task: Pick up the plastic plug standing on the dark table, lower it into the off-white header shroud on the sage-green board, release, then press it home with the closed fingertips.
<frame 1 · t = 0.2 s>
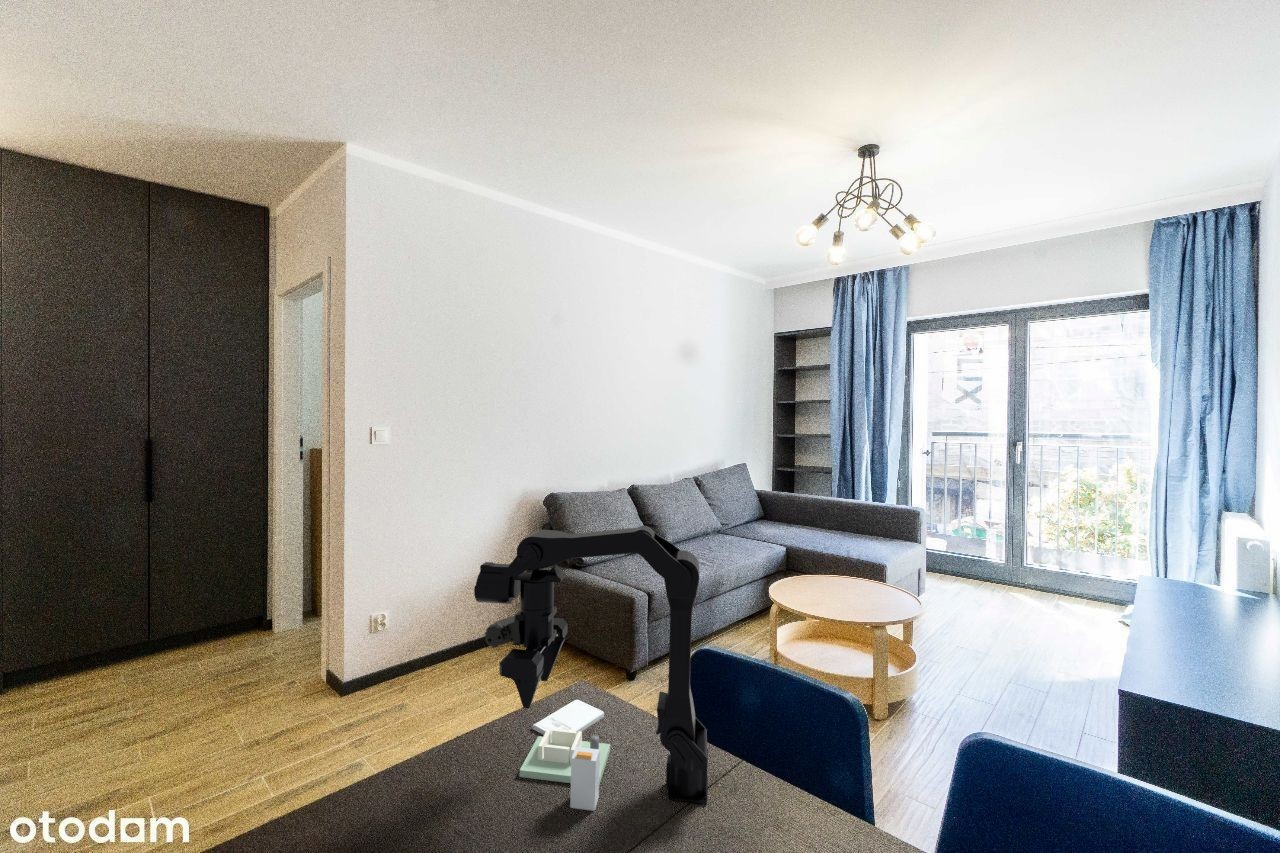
hand: (535, 693, 94), 14 cm above the table, fingers open, 9 cm apart
board: (566, 763, 97), on the table
plug: (584, 802, 87), on the table
external hard drive: (569, 726, 110), on the table
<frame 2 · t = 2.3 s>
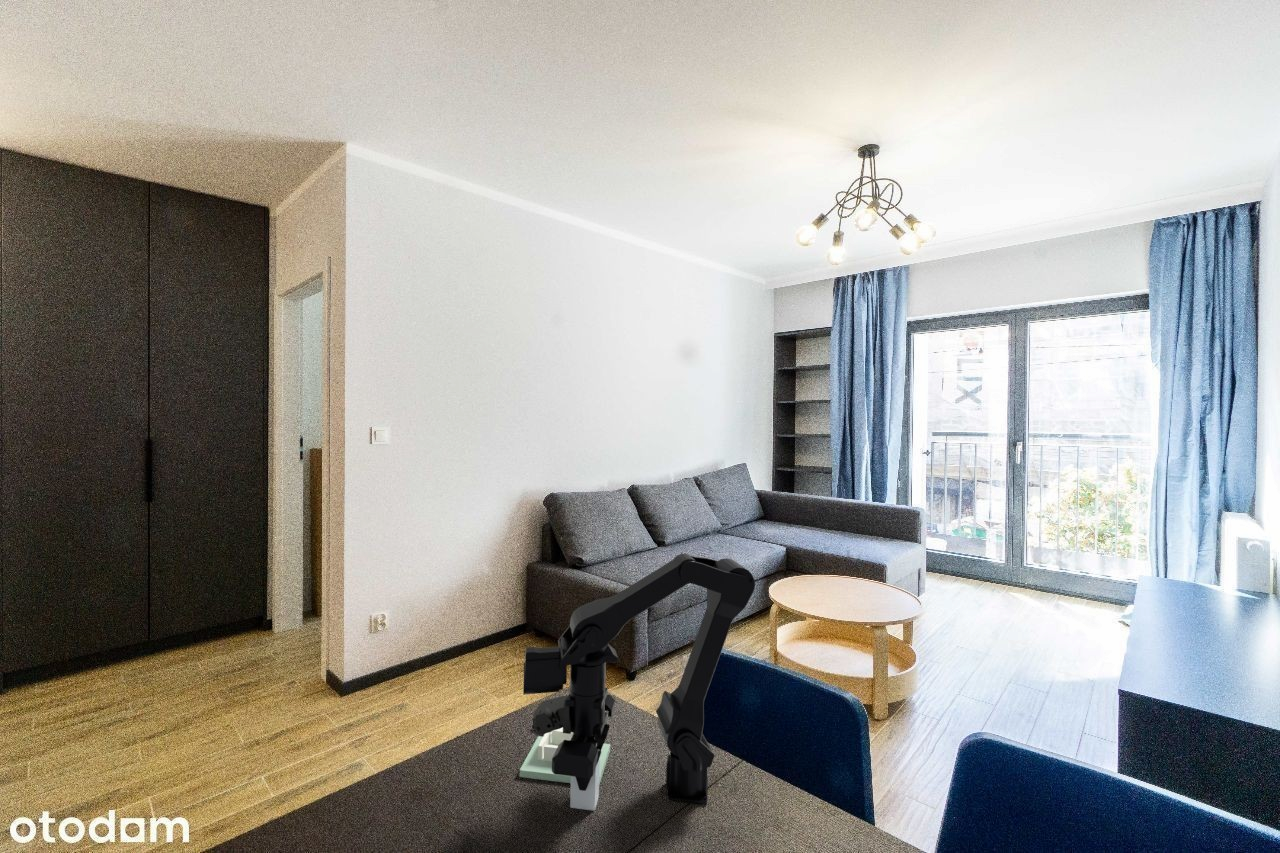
hand: (585, 782, 87), 3 cm above the table, fingers closed on plug, 3 cm apart
plug: (584, 802, 87), on the table, touching gripper
everything else where it was.
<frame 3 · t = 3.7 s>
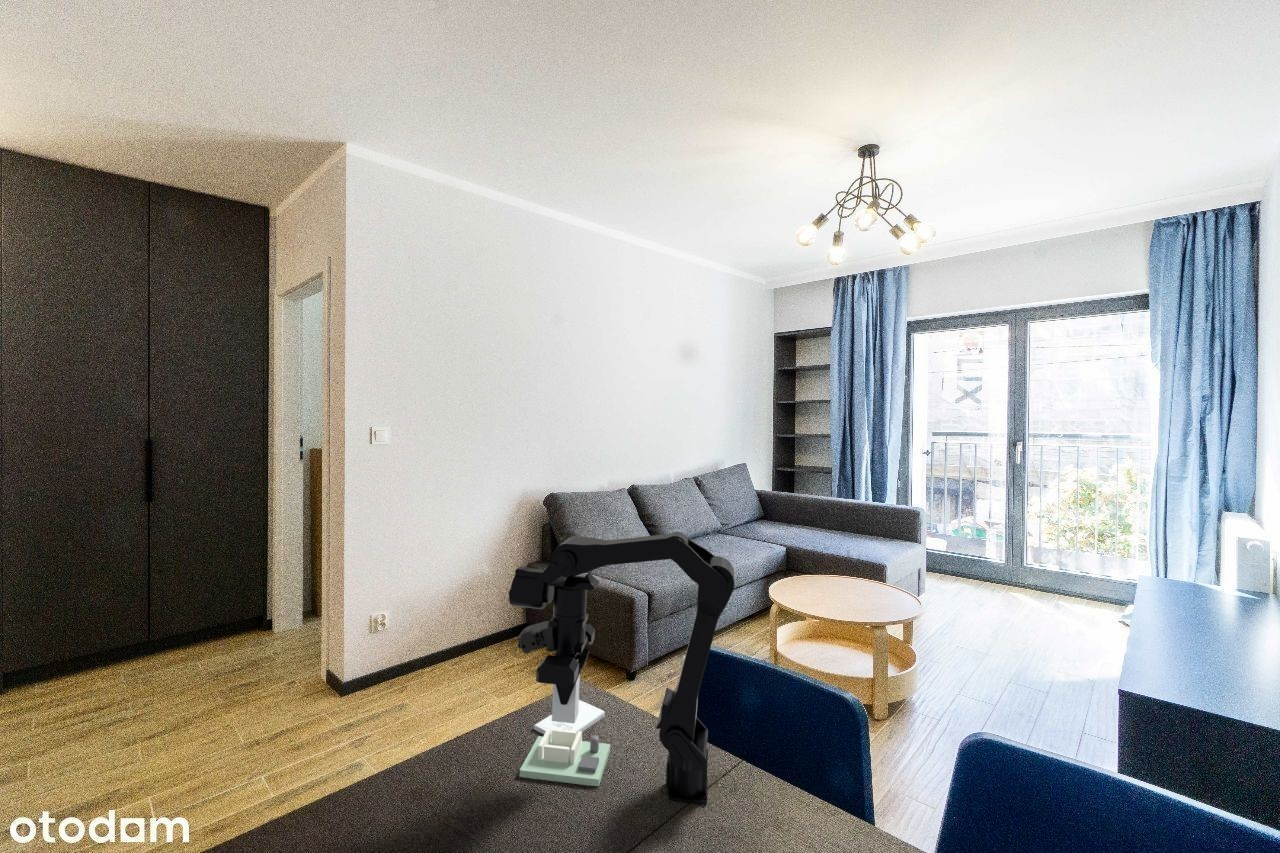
hand: (566, 699, 94), 13 cm above the table, fingers closed on plug, 3 cm apart
plug: (565, 717, 94), point 10 cm above the table, touching gripper
everything else where it was.
when the fingers open (5 cm above the table, at t = 5.2 s): plug stays where it is, resting on board.
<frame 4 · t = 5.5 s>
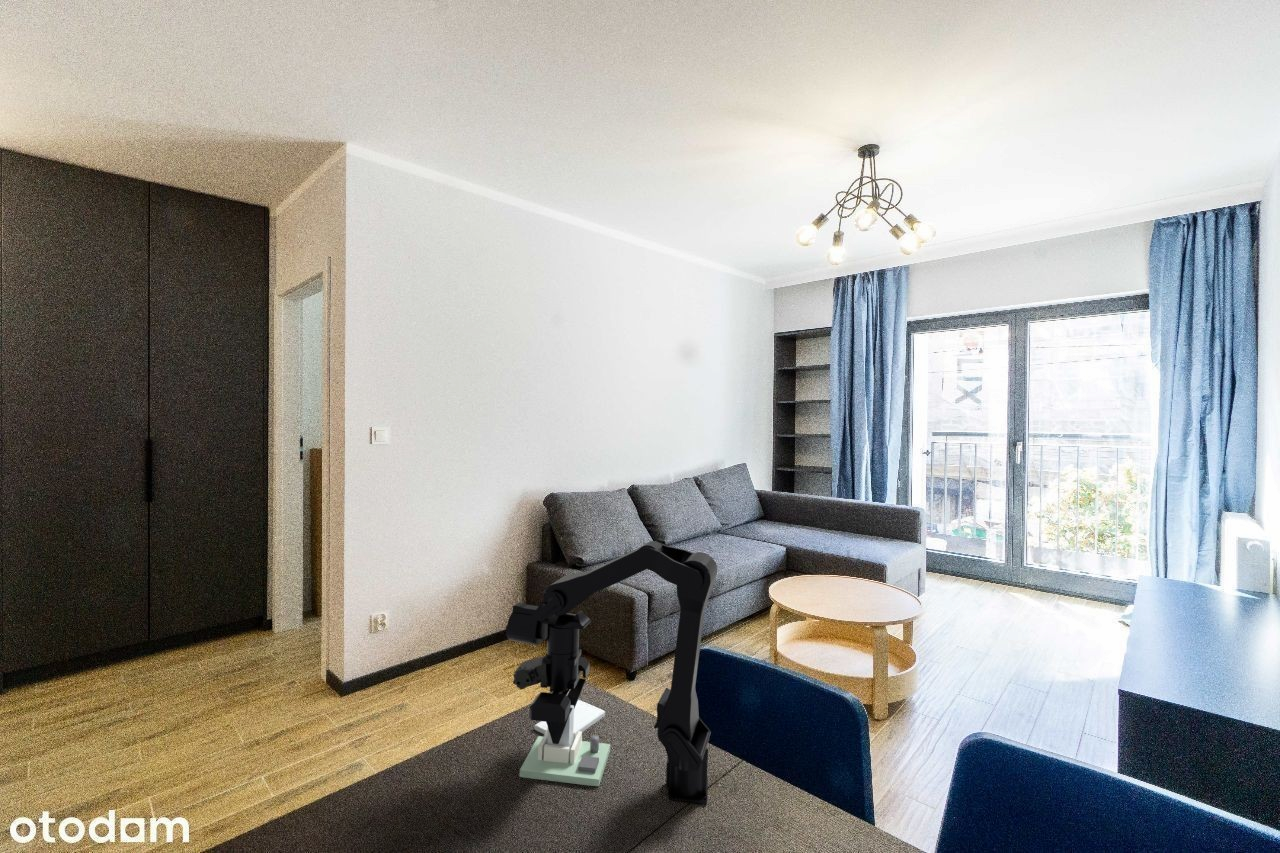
hand: (561, 732, 98), 5 cm above the table, fingers open, 6 cm apart
plug: (560, 752, 98), point 1 cm above the table, touching board
everything else where it was.
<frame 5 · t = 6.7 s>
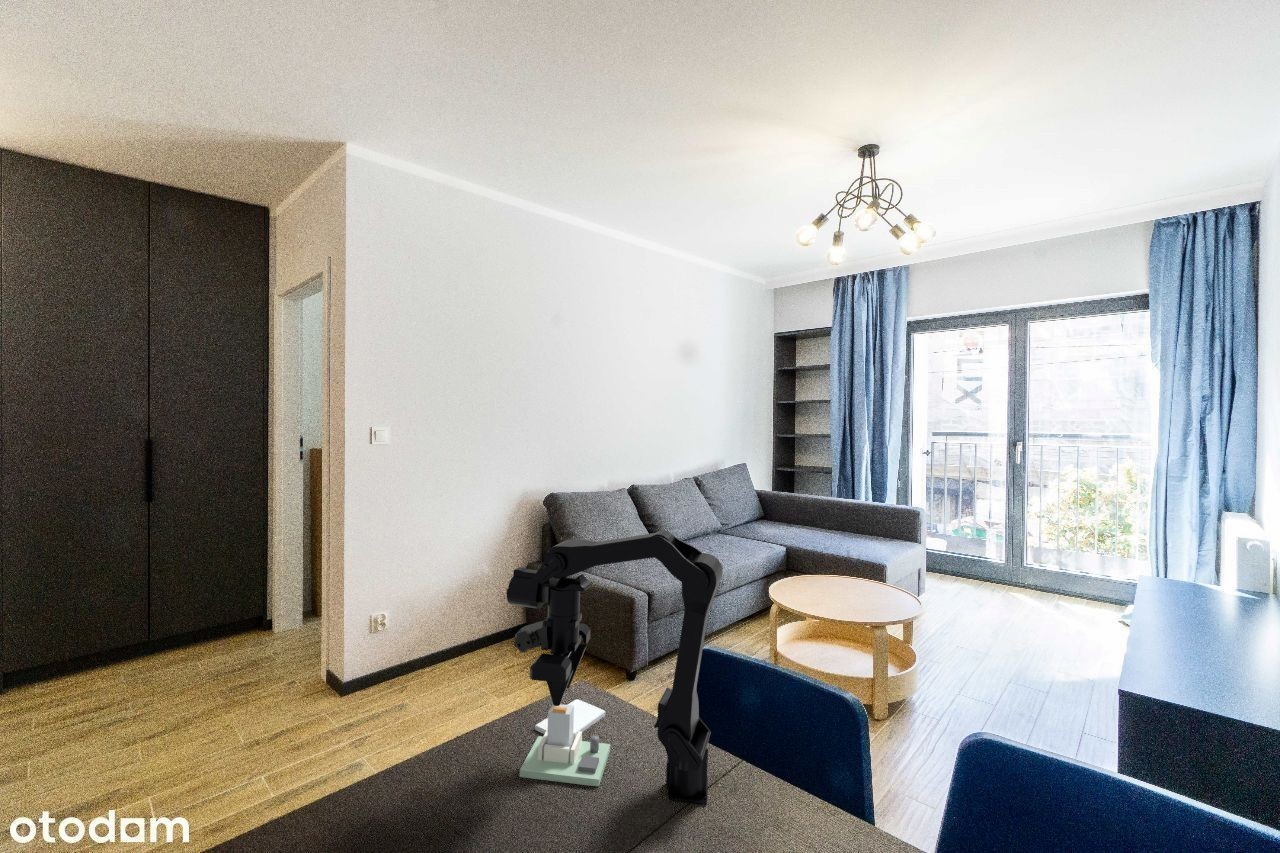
hand: (561, 696, 98), 11 cm above the table, fingers open, 6 cm apart
nothing on the table moved.
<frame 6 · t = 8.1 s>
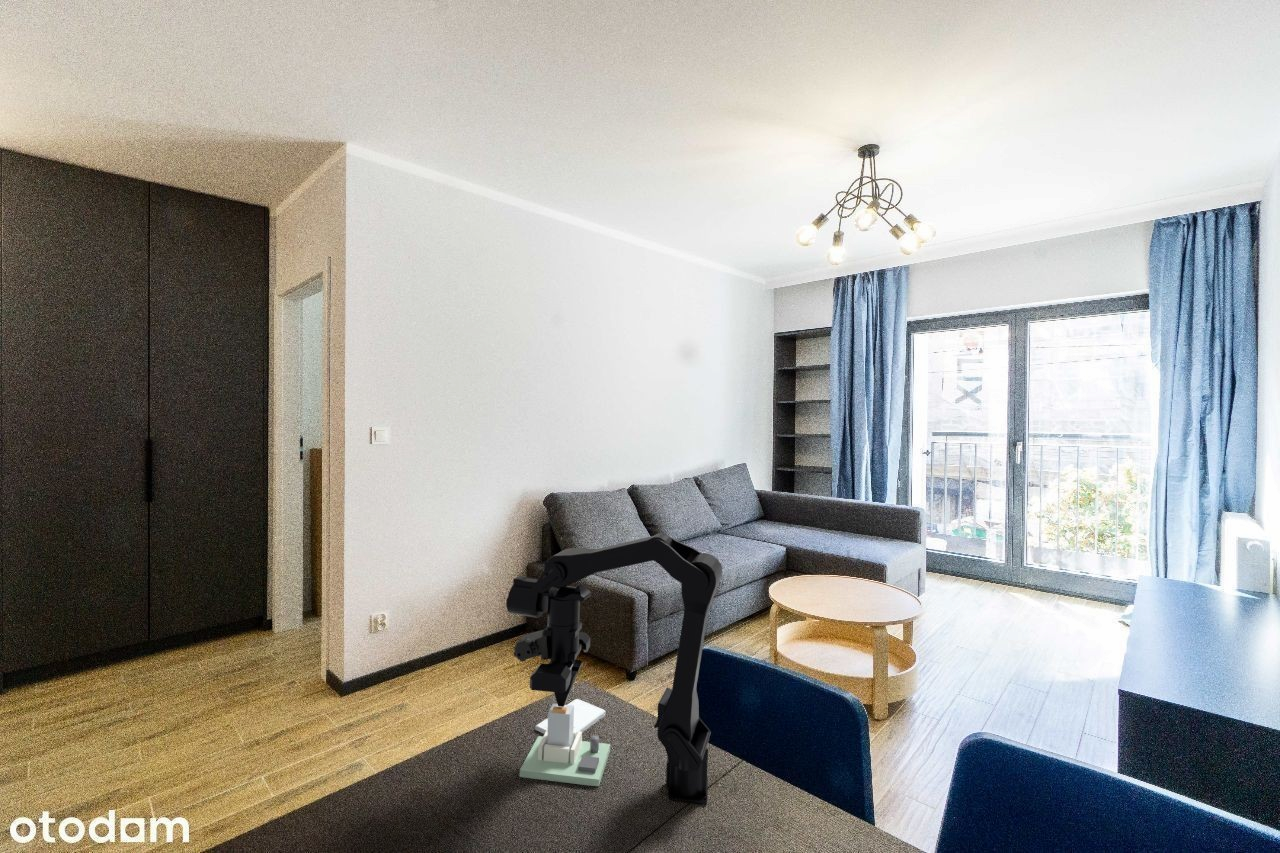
hand: (561, 705, 98), 10 cm above the table, fingers closed
nothing on the table moved.
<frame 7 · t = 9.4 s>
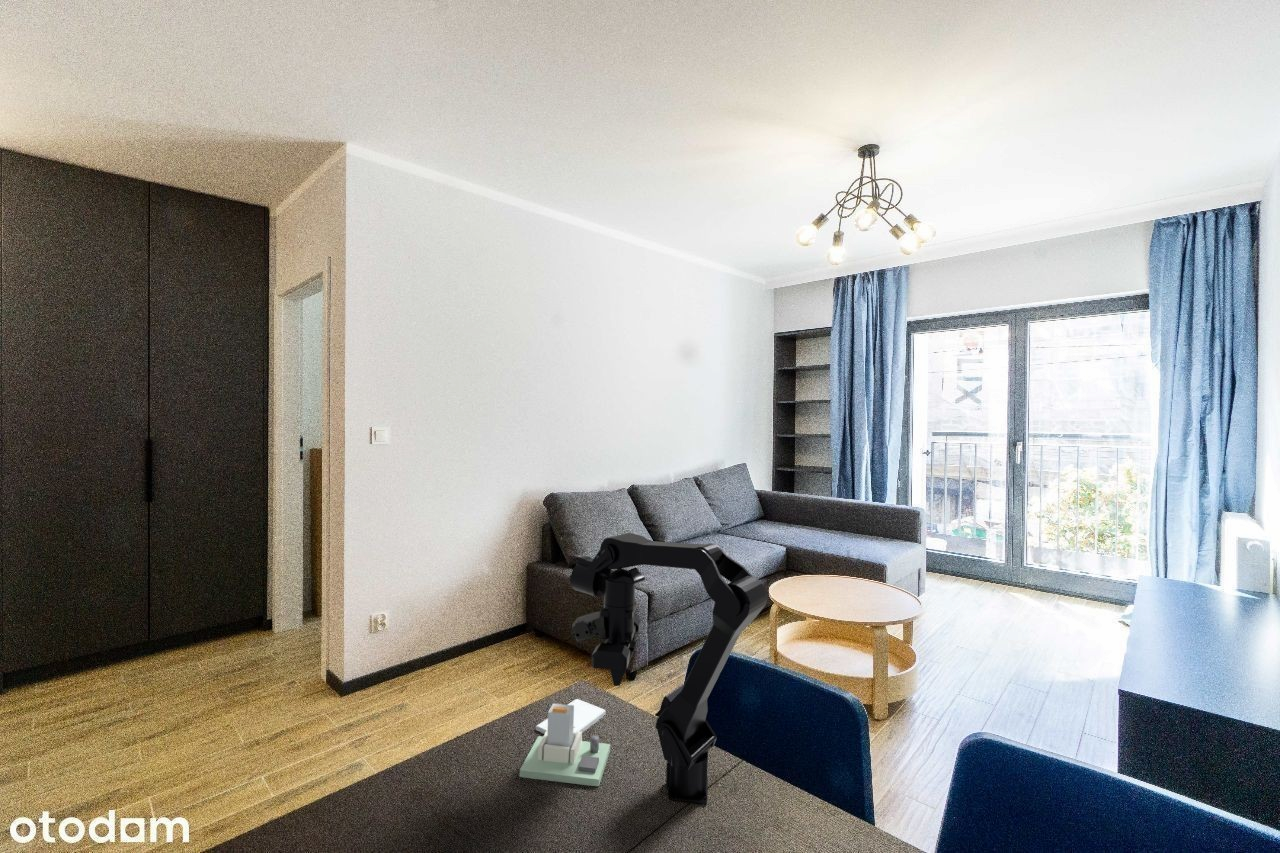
hand: (616, 684, 100), 12 cm above the table, fingers closed
nothing on the table moved.
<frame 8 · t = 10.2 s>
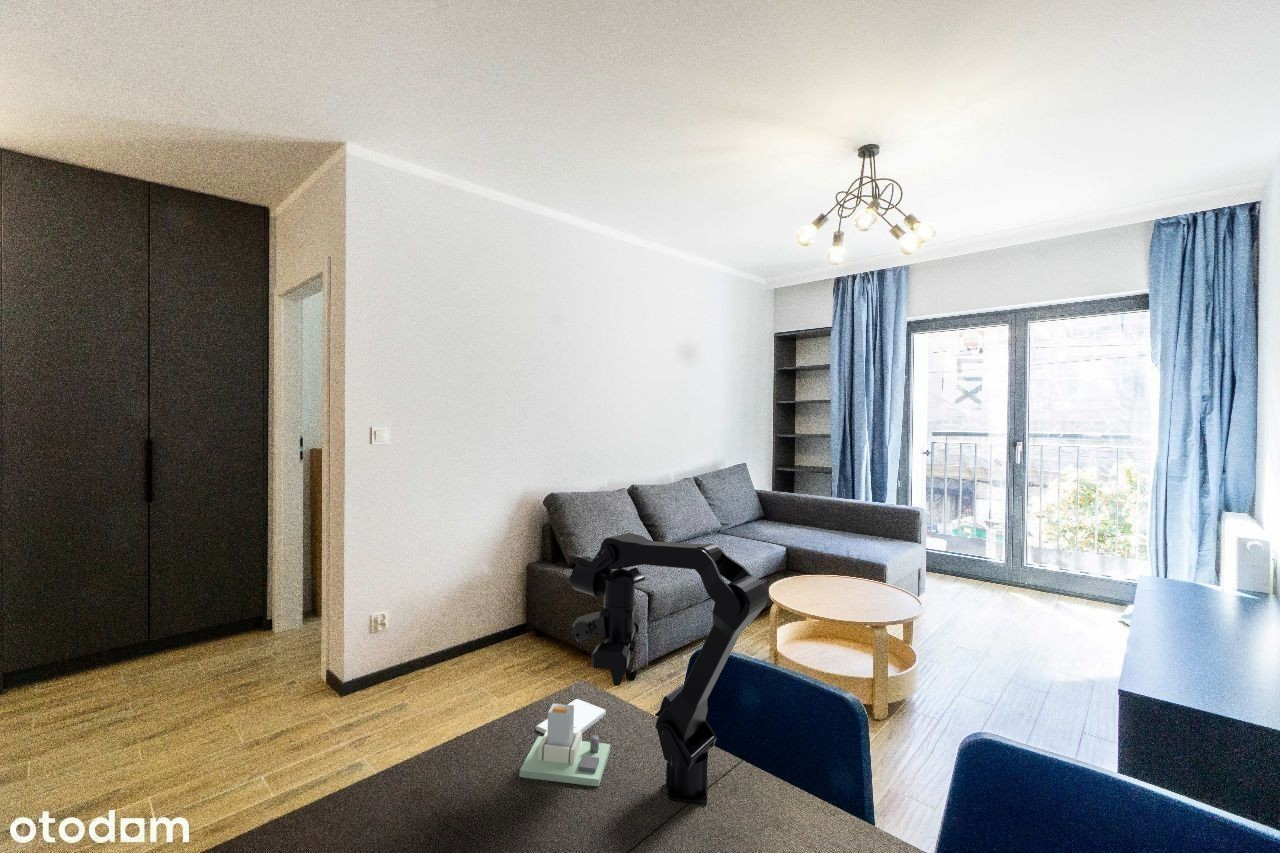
hand: (617, 684, 100), 13 cm above the table, fingers closed
nothing on the table moved.
at the end: plug 0.0 cm from the target spot on the board, point 1.2 cm above the board's base; plug tilted 0°; the gripper is holding nothing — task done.
